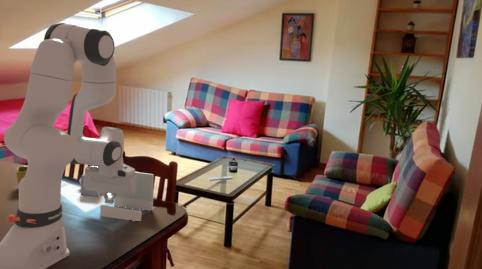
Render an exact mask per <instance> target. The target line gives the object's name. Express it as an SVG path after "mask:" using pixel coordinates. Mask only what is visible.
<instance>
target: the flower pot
mask: <svg viewBox="0 0 482 269" xmlns="http://www.w3.org/2000/svg"><path fill="white" fill-rule="evenodd" d="M27 168H28V165H27V166H18V167H17V170H16V177H17V178H16V179H17V184H18V185H19V182H20V181H21V179H23V178H24V177H25V175H26V172H27Z"/></svg>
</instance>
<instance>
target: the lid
mask: <svg viewBox="0 0 482 269" xmlns="http://www.w3.org/2000/svg"><path fill="white" fill-rule="evenodd" d="M133 175H134V176H135V177H136V185H137V188H136V193H135V194H133V195H132V196H128V195H121V194H117V195H116V197H123V198H130V199H137V200H144V201H150V202H153V203H154V178H155V177H154V174H153V173H146V172H138V171H135V173H134V174H133Z"/></svg>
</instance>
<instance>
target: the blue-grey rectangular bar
mask: <svg viewBox="0 0 482 269" xmlns="http://www.w3.org/2000/svg"><path fill="white" fill-rule="evenodd" d="M116 207H117V208H124V209H131V210H137V211H142V210H139V209H132V208H125V207H118V206H116Z"/></svg>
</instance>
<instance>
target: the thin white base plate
mask: <svg viewBox="0 0 482 269" xmlns="http://www.w3.org/2000/svg"><path fill="white" fill-rule="evenodd" d="M117 206H119V207H126V208H133V209H144V210H152V209H153V210H154V208H153V206H154V201H153V202H150V201H144V200H137V199H130V198H123V197H115V198H114V203H113V206H109V205H103V204H102V205H100V209H99V214H100V217H105V218H110V219H117V220H123V219H124V221H129V220H132V221H131V222H135V221H141V222H142V214H143V213H142V211H144V210H141V211H137V210H131V209H124V208H117Z"/></svg>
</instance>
